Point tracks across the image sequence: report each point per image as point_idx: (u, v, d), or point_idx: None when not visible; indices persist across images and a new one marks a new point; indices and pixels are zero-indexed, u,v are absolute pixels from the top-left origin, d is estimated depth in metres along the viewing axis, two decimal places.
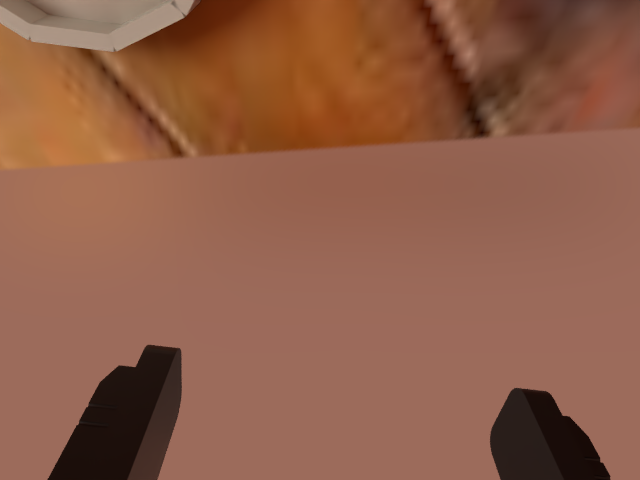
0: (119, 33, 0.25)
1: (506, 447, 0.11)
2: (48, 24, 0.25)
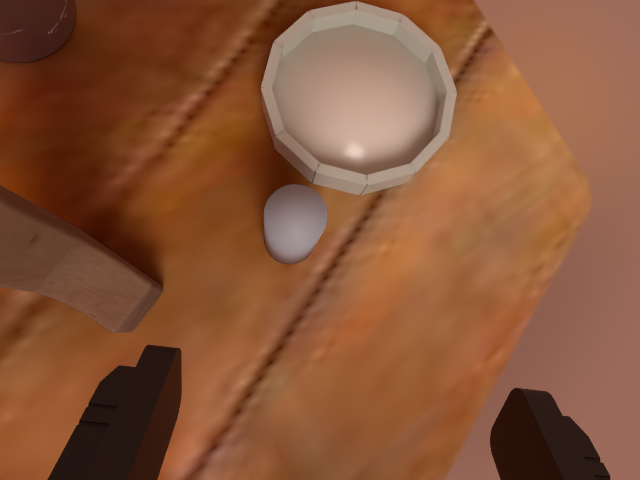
0: (428, 46, 0.43)
1: (506, 447, 0.11)
2: (442, 85, 0.42)
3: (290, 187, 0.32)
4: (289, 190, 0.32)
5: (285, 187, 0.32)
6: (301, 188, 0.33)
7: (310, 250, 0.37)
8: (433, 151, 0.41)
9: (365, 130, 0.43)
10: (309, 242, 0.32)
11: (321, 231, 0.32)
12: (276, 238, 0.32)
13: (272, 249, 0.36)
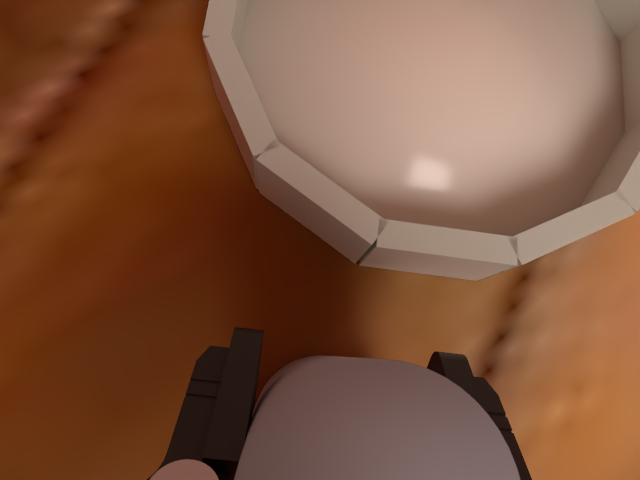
0: None
1: None
2: None
3: (339, 379, 0.07)
4: (337, 394, 0.07)
5: (316, 382, 0.07)
6: (387, 375, 0.07)
7: None
8: None
9: (470, 122, 0.18)
10: None
11: None
12: None
13: None
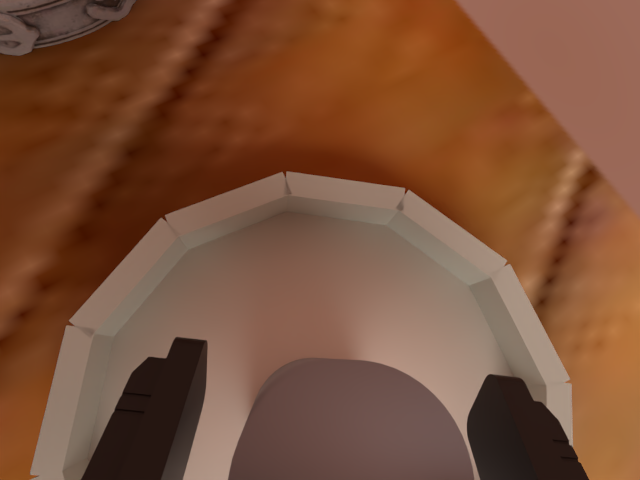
0: (480, 263, 0.17)
1: (481, 432, 0.11)
2: (530, 363, 0.16)
3: (319, 376, 0.09)
4: (317, 389, 0.09)
5: (300, 379, 0.09)
6: (360, 374, 0.09)
7: None
8: None
9: None
10: None
11: None
12: None
13: None
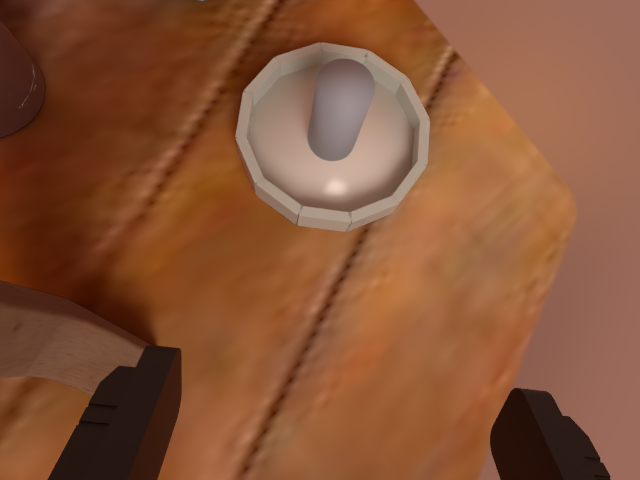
0: (396, 77, 0.43)
1: (506, 447, 0.11)
2: (415, 114, 0.43)
3: (337, 61, 0.35)
4: (337, 64, 0.35)
5: (332, 61, 0.35)
6: (347, 61, 0.35)
7: (356, 134, 0.39)
8: (413, 181, 0.41)
9: (344, 166, 0.43)
10: (361, 107, 0.34)
11: (371, 97, 0.34)
12: (331, 105, 0.34)
13: (321, 136, 0.39)
